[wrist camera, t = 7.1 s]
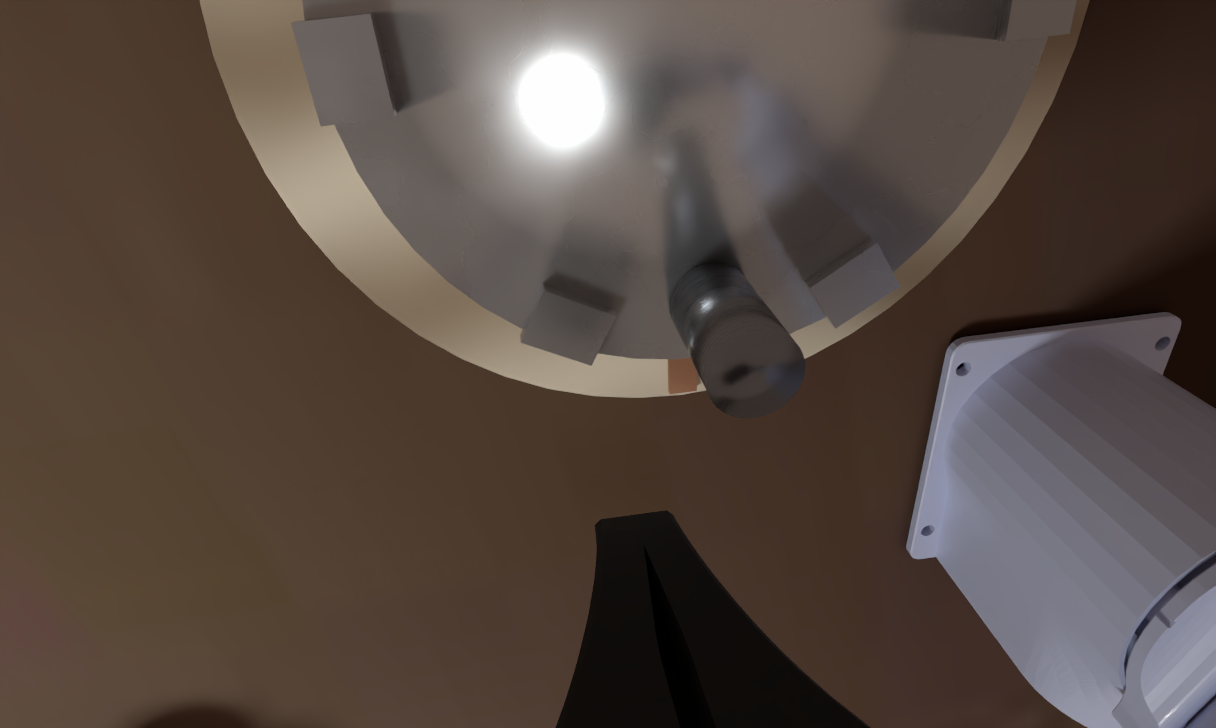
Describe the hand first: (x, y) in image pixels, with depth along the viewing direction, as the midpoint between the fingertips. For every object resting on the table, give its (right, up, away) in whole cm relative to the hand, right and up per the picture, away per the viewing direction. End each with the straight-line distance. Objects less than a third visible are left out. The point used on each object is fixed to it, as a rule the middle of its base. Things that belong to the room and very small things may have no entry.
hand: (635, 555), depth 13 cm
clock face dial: (+1, +11, +3) cm, 11 cm away
